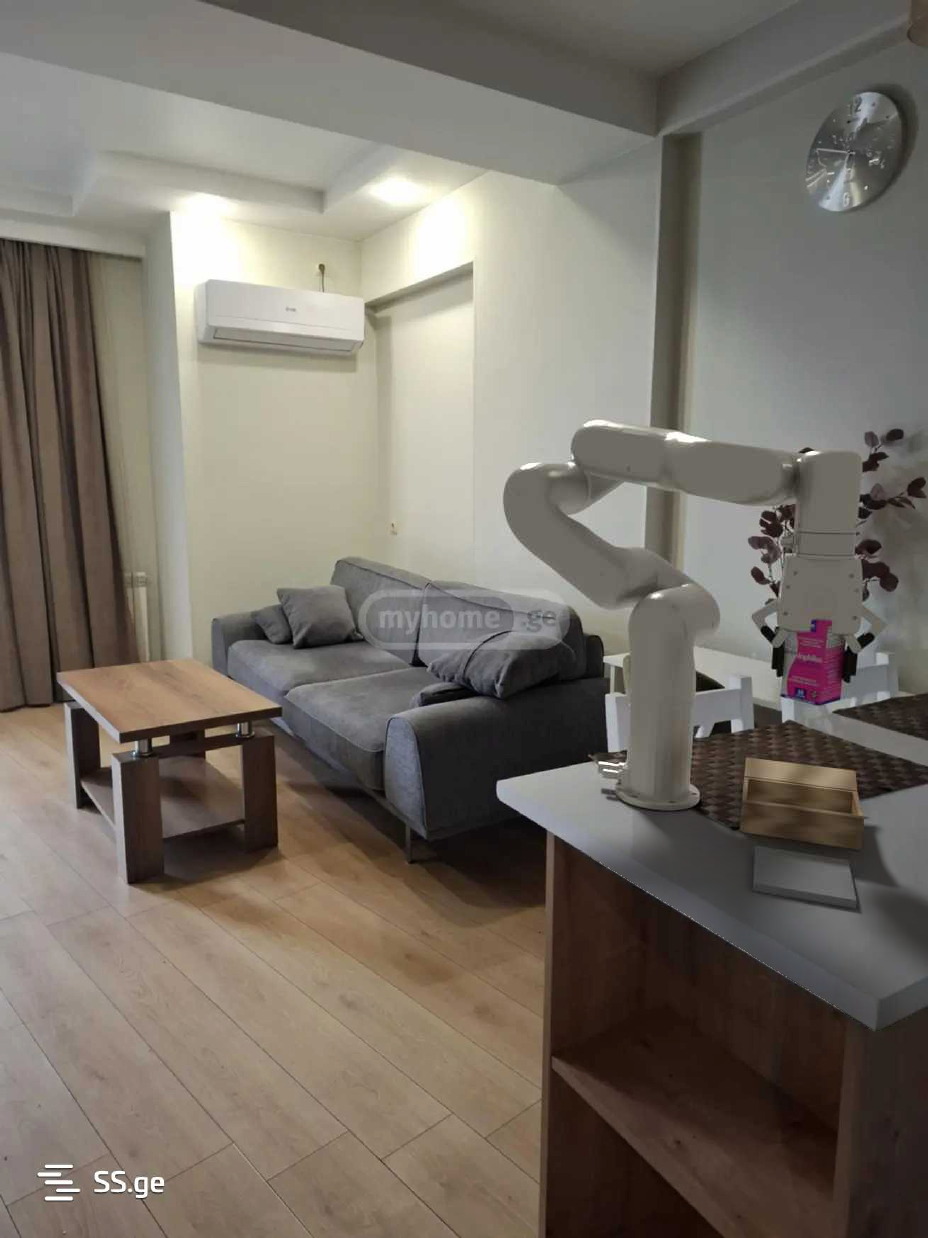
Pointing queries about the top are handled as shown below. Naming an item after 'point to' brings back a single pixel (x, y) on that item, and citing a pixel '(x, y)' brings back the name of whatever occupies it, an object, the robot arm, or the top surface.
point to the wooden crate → (802, 803)
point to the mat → (803, 876)
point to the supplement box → (813, 665)
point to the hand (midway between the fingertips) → (812, 677)
